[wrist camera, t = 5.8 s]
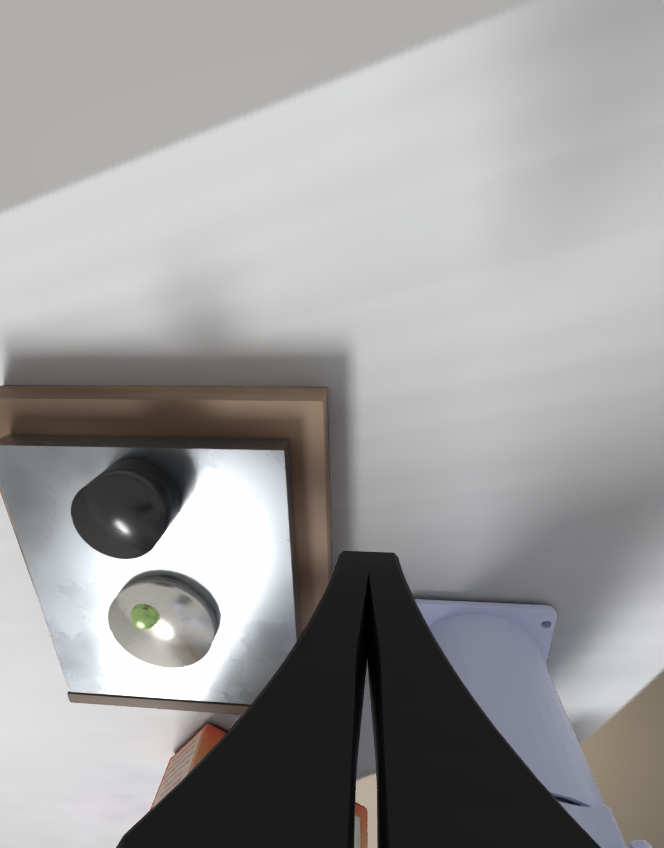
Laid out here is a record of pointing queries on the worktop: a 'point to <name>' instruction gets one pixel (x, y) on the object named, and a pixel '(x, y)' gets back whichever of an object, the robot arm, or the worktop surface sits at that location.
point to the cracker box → (200, 748)
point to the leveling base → (208, 418)
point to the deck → (159, 559)
